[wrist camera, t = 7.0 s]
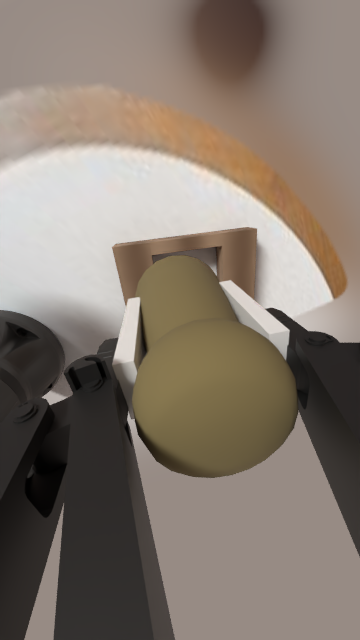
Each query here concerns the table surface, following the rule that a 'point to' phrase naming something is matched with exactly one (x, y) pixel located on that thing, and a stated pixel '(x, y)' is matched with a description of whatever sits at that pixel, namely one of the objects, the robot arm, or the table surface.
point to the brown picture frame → (230, 249)
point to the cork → (206, 377)
